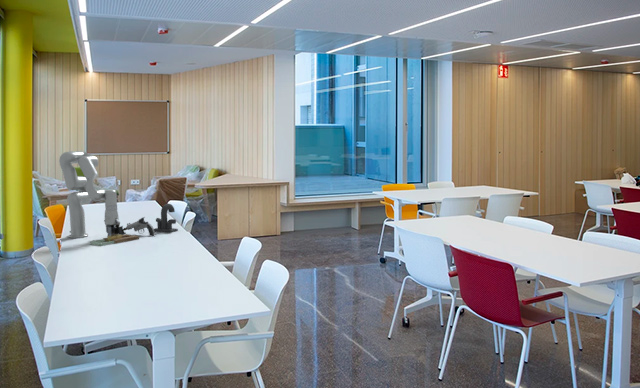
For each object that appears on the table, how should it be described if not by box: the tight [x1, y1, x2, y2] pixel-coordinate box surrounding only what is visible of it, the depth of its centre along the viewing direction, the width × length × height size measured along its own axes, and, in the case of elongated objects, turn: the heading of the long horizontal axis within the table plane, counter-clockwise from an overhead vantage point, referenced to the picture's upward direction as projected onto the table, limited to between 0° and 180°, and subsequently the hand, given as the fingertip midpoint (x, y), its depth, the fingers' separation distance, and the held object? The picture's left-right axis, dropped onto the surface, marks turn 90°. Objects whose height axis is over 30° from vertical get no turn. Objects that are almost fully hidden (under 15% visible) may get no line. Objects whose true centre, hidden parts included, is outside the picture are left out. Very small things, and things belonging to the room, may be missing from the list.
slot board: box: [102, 233, 140, 244], centre depth 376 cm, size 14×18×2 cm
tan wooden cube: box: [106, 235, 117, 242], centre depth 370 cm, size 4×4×4 cm
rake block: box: [106, 223, 117, 236], centre depth 383 cm, size 4×5×11 cm
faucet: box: [154, 203, 179, 234], centre depth 414 cm, size 18×16×20 cm
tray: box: [89, 238, 116, 247], centre depth 364 cm, size 11×11×2 cm
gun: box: [118, 216, 156, 237], centre depth 397 cm, size 5×27×15 cm, turn 78°
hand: (112, 232), depth 383 cm, fingers open, 8 cm apart
